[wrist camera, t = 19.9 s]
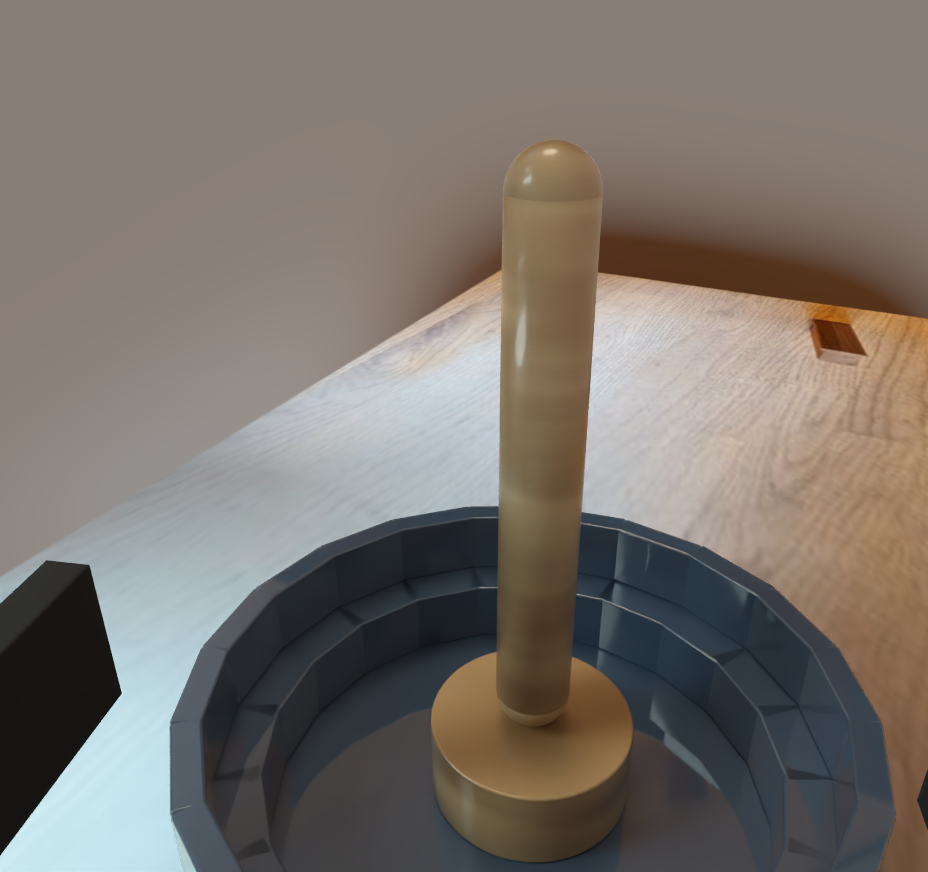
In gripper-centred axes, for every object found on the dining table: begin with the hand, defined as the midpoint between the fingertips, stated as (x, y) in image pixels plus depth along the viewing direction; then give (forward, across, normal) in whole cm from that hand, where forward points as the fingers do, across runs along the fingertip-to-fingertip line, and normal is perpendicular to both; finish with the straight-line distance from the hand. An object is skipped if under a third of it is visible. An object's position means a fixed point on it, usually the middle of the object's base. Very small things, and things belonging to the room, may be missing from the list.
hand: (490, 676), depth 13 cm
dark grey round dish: (+7, 0, -12) cm, 13 cm away
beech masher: (+8, 0, -11) cm, 13 cm away
